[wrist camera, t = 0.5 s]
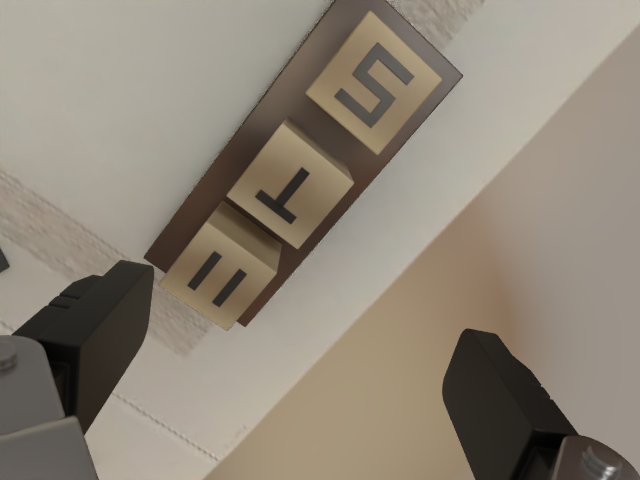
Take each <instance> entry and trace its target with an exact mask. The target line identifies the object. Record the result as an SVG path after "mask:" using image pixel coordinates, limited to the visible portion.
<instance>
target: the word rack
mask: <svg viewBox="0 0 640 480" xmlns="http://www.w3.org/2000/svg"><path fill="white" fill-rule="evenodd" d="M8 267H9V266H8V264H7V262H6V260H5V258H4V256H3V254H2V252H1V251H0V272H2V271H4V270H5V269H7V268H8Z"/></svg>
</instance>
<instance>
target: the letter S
mask: <svg viewBox="0 0 640 480" xmlns="http://www.w3.org/2000/svg"><path fill="white" fill-rule="evenodd" d="M441 81H442V78H441V77H440V76H439V75H438V74H437V73H436V72H435V71H434V70H433V69H432V68H431V67H430V66H429V65H428V64H427V63H425V62H424V61H423V60H422V59H421V58H420V57H419V56H418V55H417V54H416V53H415V52H414V51H413V50H412V49H411V48H410V47H409V46H408V45H407V44H406V43H404V42H403V41H402V40H401V39H400V38H399V37H398V36H397V35H396V34H395V33H394V32H393V31H392V30H391V29H390V28H389V27H388V26H387V25H386V24H385V23H383V22H382V21H381V20H380V19H379V18H378V17H377V16H376V15H375V14H374V13H373V12H372V11H368V12H367V13H366V15H365V16H364V17H363V19H362V20H361V21H360V22H359V24H358V25H357V26H356V28H355V29H354V30H353V31H352V33H351V34H350V35H349V37H348V38H347V39H346V40H345V42H344V43H343V44H342V46H341V47H340V48H339V50H338V51H337V52H336V53H335V55H334V56H333V57H332V59H331V60H330V61H329V63H328V64H327V65H326V66H325V68H324V69H323V70H322V72H321V73H320V74H319V76H318V77H317V78H316V79H315V81H314V82H313V83H312V85H311V86H310V87H309V88H308V90H307V91H306V95H307V96H308V97H309V98H310V99H312V100H313V101H314V102H315V103H316V104H317V105H319V106H320V107H321V108H322V109H323V110H324V111H326V112H327V113H328V114H329V115H330V116H331V117H333V118H334V119H335V120H336V121H337V122H338V123H340V124H341V125H342V126H343V127H344V128H345V129H347V130H348V131H349V132H350V133H351V134H352V135H354V136H355V137H356V138H357V139H358V140H359V141H361V142H362V143H363V144H364V145H365V146H366V147H368V148H369V149H370V150H371V151H372V152H373V153H375V154H376V155H379V154H380V153H381V151H382V150H383V149H384V148H385V147H386V146H387V144H388V143H389V142H390V141H391V140H392V139H393V137H394V136H395V135H396V134H397V133H398V132H399V130H400V129H401V128H402V127H403V126H404V125H405V123H406V122H407V121H408V120H409V119H410V118H411V116H412V115H413V114H414V113H415V112H416V111H417V109H418V108H419V107H420V106H421V105H422V104H423V102H424V101H425V100H426V99H427V98H428V97H429V95H430V94H431V93H432V92H433V91H434V90H435V88H436V87H437V86H438V85H439V84H440V83H441Z"/></svg>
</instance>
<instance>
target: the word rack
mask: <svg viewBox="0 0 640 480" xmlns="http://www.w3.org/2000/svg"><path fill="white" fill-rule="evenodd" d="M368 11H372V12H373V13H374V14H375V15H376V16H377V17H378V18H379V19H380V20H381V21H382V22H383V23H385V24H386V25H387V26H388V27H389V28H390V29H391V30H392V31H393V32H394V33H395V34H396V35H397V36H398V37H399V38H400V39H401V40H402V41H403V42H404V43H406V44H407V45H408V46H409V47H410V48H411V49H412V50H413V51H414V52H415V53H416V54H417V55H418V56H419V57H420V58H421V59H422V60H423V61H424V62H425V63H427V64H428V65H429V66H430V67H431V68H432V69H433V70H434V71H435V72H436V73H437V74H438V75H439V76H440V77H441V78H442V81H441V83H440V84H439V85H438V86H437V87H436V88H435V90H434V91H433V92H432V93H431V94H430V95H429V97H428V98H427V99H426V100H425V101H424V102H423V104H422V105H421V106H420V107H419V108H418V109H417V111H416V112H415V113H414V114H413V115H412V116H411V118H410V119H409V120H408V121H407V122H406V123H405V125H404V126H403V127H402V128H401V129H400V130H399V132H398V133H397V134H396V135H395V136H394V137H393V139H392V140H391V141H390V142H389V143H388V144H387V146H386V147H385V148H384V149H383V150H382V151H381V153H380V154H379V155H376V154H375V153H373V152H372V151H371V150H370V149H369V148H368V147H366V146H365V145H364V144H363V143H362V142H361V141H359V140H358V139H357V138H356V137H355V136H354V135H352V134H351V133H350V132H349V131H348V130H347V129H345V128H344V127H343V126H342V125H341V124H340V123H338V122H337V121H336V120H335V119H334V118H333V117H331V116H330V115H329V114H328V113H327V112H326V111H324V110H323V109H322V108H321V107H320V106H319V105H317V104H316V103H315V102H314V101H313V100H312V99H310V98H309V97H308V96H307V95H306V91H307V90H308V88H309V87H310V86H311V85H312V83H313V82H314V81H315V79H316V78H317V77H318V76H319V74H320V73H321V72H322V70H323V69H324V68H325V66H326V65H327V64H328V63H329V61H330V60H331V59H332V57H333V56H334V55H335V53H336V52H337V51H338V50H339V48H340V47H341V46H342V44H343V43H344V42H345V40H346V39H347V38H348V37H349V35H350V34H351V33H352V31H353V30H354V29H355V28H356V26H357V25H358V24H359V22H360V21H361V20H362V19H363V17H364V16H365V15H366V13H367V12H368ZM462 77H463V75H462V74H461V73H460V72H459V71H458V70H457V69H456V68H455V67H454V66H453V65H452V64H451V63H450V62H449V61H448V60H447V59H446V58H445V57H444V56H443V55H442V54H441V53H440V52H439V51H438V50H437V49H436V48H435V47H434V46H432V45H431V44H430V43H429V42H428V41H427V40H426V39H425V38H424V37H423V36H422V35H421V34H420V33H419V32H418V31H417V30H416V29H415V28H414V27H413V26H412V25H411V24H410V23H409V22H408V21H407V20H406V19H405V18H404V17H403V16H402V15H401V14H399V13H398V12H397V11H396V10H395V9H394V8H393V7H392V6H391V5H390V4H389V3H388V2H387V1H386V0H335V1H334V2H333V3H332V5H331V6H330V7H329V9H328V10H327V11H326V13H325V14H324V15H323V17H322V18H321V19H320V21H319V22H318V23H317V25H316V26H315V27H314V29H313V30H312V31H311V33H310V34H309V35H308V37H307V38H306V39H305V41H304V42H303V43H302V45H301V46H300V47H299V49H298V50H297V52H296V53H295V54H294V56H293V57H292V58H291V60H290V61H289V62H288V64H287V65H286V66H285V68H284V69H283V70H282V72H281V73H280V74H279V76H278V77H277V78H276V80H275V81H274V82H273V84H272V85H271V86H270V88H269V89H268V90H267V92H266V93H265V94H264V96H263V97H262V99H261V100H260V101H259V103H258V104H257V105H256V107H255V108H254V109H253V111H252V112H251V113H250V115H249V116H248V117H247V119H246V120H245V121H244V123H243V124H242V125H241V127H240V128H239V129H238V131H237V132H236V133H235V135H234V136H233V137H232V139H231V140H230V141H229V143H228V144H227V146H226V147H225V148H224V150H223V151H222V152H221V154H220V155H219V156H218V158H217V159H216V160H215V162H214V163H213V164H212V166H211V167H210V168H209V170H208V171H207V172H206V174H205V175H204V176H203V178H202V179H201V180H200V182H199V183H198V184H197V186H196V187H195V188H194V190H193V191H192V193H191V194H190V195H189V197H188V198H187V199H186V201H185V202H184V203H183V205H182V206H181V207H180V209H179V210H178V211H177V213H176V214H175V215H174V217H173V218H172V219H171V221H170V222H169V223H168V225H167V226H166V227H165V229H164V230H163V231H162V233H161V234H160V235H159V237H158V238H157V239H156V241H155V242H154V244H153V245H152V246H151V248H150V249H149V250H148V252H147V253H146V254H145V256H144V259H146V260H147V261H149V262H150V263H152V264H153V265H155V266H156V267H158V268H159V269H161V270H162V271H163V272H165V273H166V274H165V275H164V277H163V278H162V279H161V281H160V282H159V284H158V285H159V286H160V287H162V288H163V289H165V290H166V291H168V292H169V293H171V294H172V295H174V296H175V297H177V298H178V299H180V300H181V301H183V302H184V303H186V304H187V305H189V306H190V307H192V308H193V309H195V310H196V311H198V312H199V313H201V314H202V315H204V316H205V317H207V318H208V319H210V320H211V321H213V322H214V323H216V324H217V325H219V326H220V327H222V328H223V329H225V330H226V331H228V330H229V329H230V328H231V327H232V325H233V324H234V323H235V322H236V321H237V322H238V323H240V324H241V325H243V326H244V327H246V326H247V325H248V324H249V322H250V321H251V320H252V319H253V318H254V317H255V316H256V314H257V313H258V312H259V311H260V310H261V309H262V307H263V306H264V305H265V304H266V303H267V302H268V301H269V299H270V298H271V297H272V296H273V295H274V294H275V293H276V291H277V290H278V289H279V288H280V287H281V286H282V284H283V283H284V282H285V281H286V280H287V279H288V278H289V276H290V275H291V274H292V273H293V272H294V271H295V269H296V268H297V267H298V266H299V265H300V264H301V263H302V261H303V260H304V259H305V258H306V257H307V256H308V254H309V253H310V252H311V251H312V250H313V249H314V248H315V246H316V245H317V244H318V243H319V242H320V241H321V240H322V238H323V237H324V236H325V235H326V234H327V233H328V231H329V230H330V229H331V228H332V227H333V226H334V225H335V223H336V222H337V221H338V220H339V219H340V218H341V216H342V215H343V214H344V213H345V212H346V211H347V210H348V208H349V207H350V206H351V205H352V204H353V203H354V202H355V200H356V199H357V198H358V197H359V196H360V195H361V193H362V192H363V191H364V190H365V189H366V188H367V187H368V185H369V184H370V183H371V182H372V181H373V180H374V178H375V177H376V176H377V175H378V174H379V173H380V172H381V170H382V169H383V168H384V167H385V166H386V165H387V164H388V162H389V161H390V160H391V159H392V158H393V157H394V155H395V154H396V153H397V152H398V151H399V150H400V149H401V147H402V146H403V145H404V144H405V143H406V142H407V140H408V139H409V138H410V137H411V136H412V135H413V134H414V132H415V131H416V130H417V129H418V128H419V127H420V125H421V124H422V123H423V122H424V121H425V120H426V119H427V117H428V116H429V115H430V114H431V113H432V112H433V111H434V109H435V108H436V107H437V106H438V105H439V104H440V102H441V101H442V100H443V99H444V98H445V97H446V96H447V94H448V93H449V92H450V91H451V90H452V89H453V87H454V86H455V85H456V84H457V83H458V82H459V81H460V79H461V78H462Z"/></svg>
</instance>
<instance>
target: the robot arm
mask: <svg viewBox="0 0 640 480" xmlns="http://www.w3.org/2000/svg"><path fill="white" fill-rule="evenodd" d="M153 280H154V268H153V266H151V265H145V264H140V263H135V262H130V261H125V260H120V261H119V262H118V263H116V264H115V265H114V266H113V267H112V268H111V269H110V270H109V271H108V272H107V273H106V274H105V275H104V276H103V277H102V276H97V275H91V276H89V277H86V278H83V279H81V280H78V281H76V282H73V283H72V284H71V285H69V286H68V287H67V288H66V289H65V290H64V291H62V292H61V293H60V295H59V296H57V297H55V298H54V299H53V300H52V301H51V302H49V305H48V306H45V307H44V308H42V309H41V310H40V311H39V312H38V313H37V314H35V315H34V316H33V317H32V318H31V319H30V320H28V321H27V322H26V323H25V324H24V325H22V326H21V327H20V328H19V329H18V330H17V331H15V332H14V333H13V334H12V335H1V336H0V480H99V479H98V476H97V473H96V470H95V467H94V464H93V461H92V458H91V455H90V452H89V449H88V446H87V443H86V440H85V438H84V435H85V434H86V432H87V430H88V429H89V427H90V426H91V424H92V423H93V421H94V419H95V418H96V416H97V415H98V413H99V412H100V410H101V408H102V407H103V405H104V404H105V402H106V401H107V399H108V397H109V396H110V394H111V393H112V391H113V390H114V388H115V387H116V385H117V383H118V382H119V380H120V379H121V377H122V376H123V374H124V372H125V371H126V369H127V368H128V366H129V365H130V363H131V361H132V360H133V358H134V357H135V355H136V354H137V352H138V350H139V349H140V347H141V346H142V343H143V341H144V339H145V336H146V332H147V329H148V324H149V316H150V307H151V298H152V289H153ZM442 395H443V401H444V404H445V406H446V409H447V411H448V414H449V416H450V419H451V421H452V423H453V426H454V428H455V431H456V433H457V436H458V438H459V441H460V443H461V445H462V448H463V450H464V453H465V455H466V458H467V460H468V463H469V465H470V467H471V470H472V472H473V475H474V477H475V479H476V480H640V476H639V474H638V472H637V471H636V470H635V468H634V467H633V466H632V465H631V464H630V463H629V462H628V461H627V460H626V459H625V458H623V457H622V456H621V455H619V454H618V453H617V452H616V451H614V450H612V449H611V448H609V447H608V446H606V445H605V444H603V443H601V442H599V441H596V440H594V439H592V438H589V437H585V436H581V435H579V434H578V433H577V432H576V430H575V429H574V428H573V426H572V425H571V424H570V422H569V421H568V420H567V418H566V417H565V416H564V414H563V413H562V412H561V410H560V409H559V408H558V406H557V405H556V404H555V402H554V401H553V400H551V399H550V396H549V394H548V393H547V392H546V390H545V389H544V388H543V387H541V384H540V383H539V381H538V380H537V378H536V377H535V376H534V374H533V373H532V372H531V370H530V369H528V368H527V367H526V366H525V365H523V364H522V363H521V362H520V361H519V360H517V359H516V358H515V357H514V356H512V354H511V353H510V352H509V350H508V349H507V347H506V346H505V345H504V343H503V342H502V341H501V339H500V338H499V336H497V335H496V334H494V333H488V332H483V331H478V330H473V329H465V330H464V331H463V332H462V334H461V335H460V338H459V340H458V343H457V346H456V348H455V351H454V353H453V356H452V359H451V361H450V364H449V366H448V369H447V371H446V374H445V377H444V380H443V387H442Z"/></svg>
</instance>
